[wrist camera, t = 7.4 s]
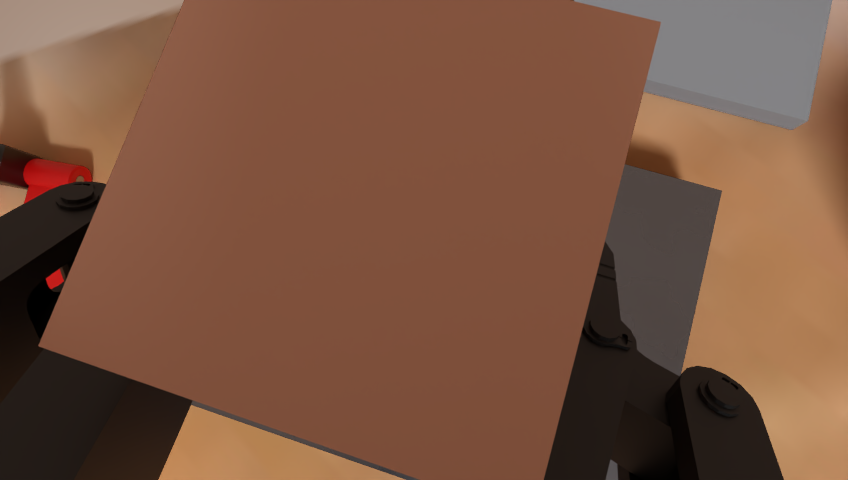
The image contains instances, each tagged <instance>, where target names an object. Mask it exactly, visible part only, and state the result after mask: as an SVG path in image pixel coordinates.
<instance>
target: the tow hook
mask: <svg viewBox="0 0 848 480" xmlns="http://www.w3.org/2000/svg"><path fill="white" fill-rule="evenodd" d="M80 181H82V182H84V181H88V182H92V176H91V173H90V171H89V170H88V169H87V168H86V167H84V166H79V165H73V164H67V163H61V162H55V161H49V160H44V159H42V158H40V157H38V156H35V155H32V154H29V153H26V152H23V151H20V150H18V149H15V148H12V147H9V146H6V145H3V144H0V185H5V186H11V187H17V188H22V189H28V191H27V194H26V198H25V202H24V204H25V203H26V202H28V201H30V200H32V199H34V198H35V197H37V196H39V195H41V194H43V193H44V192H46V191H48V190H50V189H53V188H55V187H58V186H60V185H64V184H69V183H73V182H80ZM46 281H47V284H48V286H49V288H50V289H52V288H54V287H56V286H58V285H60V284H61V283H62V282H64V280H63V277H62V274H61V272H60V269H58V270H57V271H56V272H54V273H53V274H51V275H50V276H49V277H47V278H46Z"/></svg>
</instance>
